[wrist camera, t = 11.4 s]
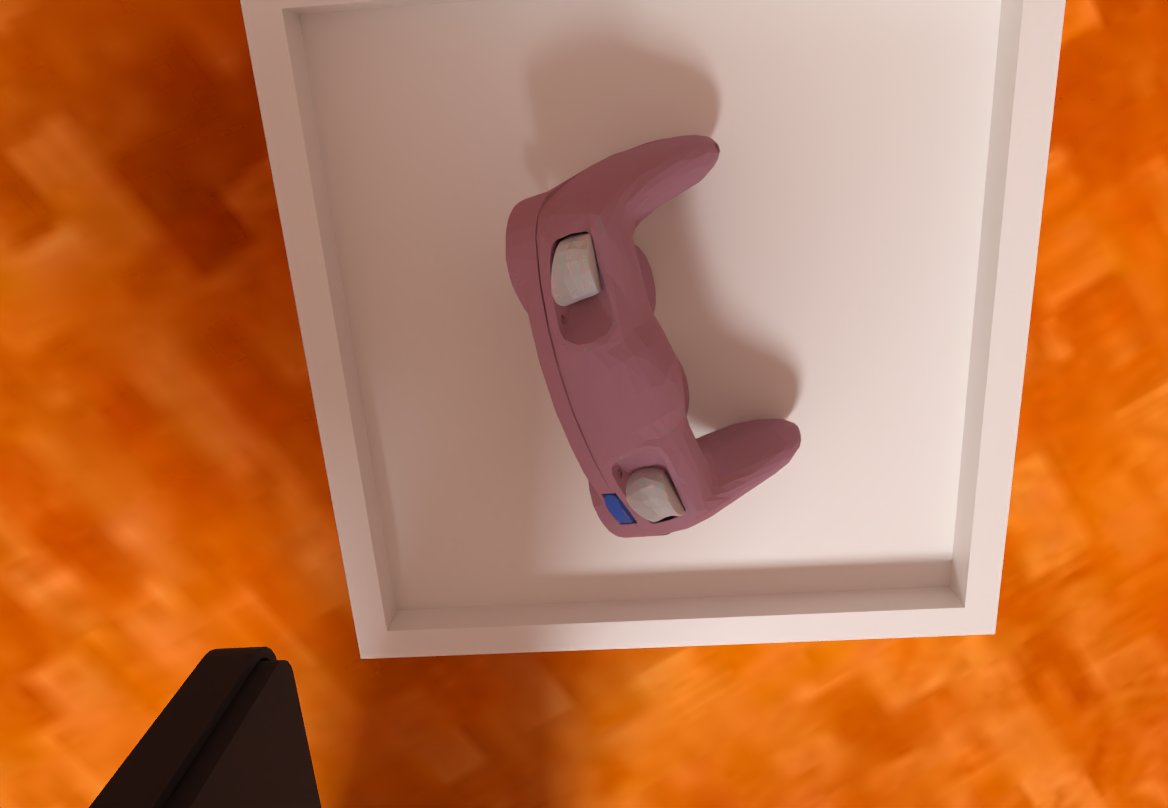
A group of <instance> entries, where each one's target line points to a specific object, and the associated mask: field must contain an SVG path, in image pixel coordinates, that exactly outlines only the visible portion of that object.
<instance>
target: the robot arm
mask: <svg viewBox="0 0 1168 808" xmlns="http://www.w3.org/2000/svg"><path fill="white" fill-rule="evenodd" d="M89 808H321V804H320V799H319V795H318V790H317V785H316V780H315V775H314V770H313V766H312V761H311V756H310V751H309V746H308V741H307V737H306V732H305V727H304V722H303V717H302V713H301V708H300V703H299V698H298V693H297V688H296V684H295V679H294V674H293V670H292V667H291V665H290V664H289V662H288V661H285V660H277V659H276V656H275V654H274V653H273V651H272V650H271V649H270V648H268V647H248V648H225V649H214V650H211V651H209V652H208V653H207V654H206V655H205V656H204V657H203V659H202V660H201V661H200V662H199V664H198V665H197V666H196V668H195V669H194V670H193V672H192V673H191V674H190V676H189V677H188V678H187V680H186V681H185V682H184V684H183V685H182V686H181V687H180V689H179V690H178V691H177V693H176V694H175V695H174V697H173V698H172V699H171V701H170V702H169V703H168V705H167V706H166V707H165V708H164V710H163V711H162V712H161V714H160V715H159V716H158V718H157V719H156V720H155V722H154V723H153V724H152V726H151V727H150V728H149V729H148V731H147V732H146V733H145V735H144V736H143V737H142V739H141V740H140V741H139V743H138V744H137V745H136V747H135V748H134V749H133V750H132V752H131V753H130V754H129V756H128V757H127V758H126V760H125V761H124V762H123V764H122V765H121V766H120V768H119V769H118V770H117V771H116V773H115V774H114V775H113V777H112V778H111V779H110V781H109V782H108V783H107V785H106V786H105V787H104V789H103V790H102V791H101V792H100V794H99V795H98V796H97V798H96V799H95V800H94V802H93V803H92V804H91V806H90V807H89Z"/></svg>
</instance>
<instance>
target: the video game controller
mask: <svg viewBox="0 0 1168 808" xmlns="http://www.w3.org/2000/svg"><path fill="white" fill-rule="evenodd" d="M719 153H720V149H719V145H718V144H717V143H716V142H715V141H714V140H713V139H711V138H710V137H707V136H700V135H685V136H677V137H672V138H666V139H661V140H656V141H652V142H648V143H645V144H642V145H640V146H637V147H634V148H632V149H629V150H626V151H623V152H619V153H616V154H613V155H611V156H609V157H607V158H605V159H603V160H601V161H599V162H597V163H595V164H593V165H592V166H590V167H588V168H587V169H585V170H583V171H581V172H580V173H578V174H576V175H575V176H573V177H571V178H569V179H568V180H566V181H564V182H563V183H561V184H559V185H558V186H556V187H554V188H552V189H551V190H549V191H547V192H544V193H541V194H538V195H535V196H532V197H529V198H526V199H524V200H522V201H520V202H519V203H518V204H516V205H515V206H514V208H513V210H512V211H511V213H510V215H509V219H508V222H507V228H506V262H507V267H508V272H509V276H510V280H511V283H512V286H513V288H514V290H515V292H516V294H517V296H518V298H519V300H520V302H521V304H522V305H523V307H524V309H525V311H526V312H527V313H528V316H529V321H530V325H531V329H532V334H533V338H534V342H535V346H536V351H537V355H538V359H539V363H540V366H541V369H542V372H543V375H544V378H545V381H546V384H547V387H548V390H549V393H550V396H551V399H552V402H553V405H554V408H555V411H556V414H557V416H558V418H559V421H560V423H561V425H562V428H563V430H564V432H565V435H566V437H567V439H568V441H569V444H570V446H571V448H572V450H573V452H574V454H575V456H576V458H577V460H578V462H579V464H580V466H581V468H582V470H583V472H584V474H585V475H586V477H587V479H588V482H589V491H590V495H591V499H592V503H593V506H594V508H595V510H596V513H597V515H598V517H599V519H600V520H601V522H602V523H603V524H604V526H605V527H606V528H607V529H608V530H609V532H611V533H612V534H614V535H616V536H617V537H623V538H630V537H646V536H662V535H668V534H670V533H672V532H675V531H680V530H684V529H688V528H690V527H692V526H694V525H696V524H698V523H700V522H702V521H704V520H706V519H708V518H710V517H712V516H713V515H715V514H716V513H718V512H719V511H721V510H722V509H724V508H725V507H727V506H728V505H729V504H731V503H732V502H734V501H735V500H737V499H738V498H740V497H741V496H743V495H744V494H746V493H747V492H749V491H750V490H752V489H753V488H755V487H756V486H758V485H759V484H761V483H762V482H764V481H765V480H767V479H768V478H770V477H771V476H773V475H774V474H776V473H777V472H778V471H779V470H780V469H782V468H783V467H784V466H785V465H787V464H788V463H789V462H790V460H791V459H792V457H793V456H794V454H795V453H796V452H797V450H798V449H799V447H800V443H801V434H800V430H799V428H798V426H797V425H796V424H795V423H793V422H790V421H787V420H785V419H756V420H751V421H746V422H741V423H736V424H733V425H730V426H727V427H725V428H722V429H719V430H716V431H714V432H711V433H708V434H706V435H703V436H701V437H699V438H695V436H694V434H693V432H692V430H691V428H690V425H689V422H688V419H687V412H688V408H689V389H688V382H687V378H686V375H685V372H684V369H683V367H682V365H681V363H680V361H679V360H678V358H677V357H676V355H675V353H674V351H673V349H672V347H671V345H670V343H669V341H668V339H667V337H666V335H665V332H664V331H663V329H662V327H661V326H660V324H659V322H658V320H657V319H656V317H655V315H654V311H655V306H656V291H655V283H654V278H653V274H652V270H651V267H650V265H649V262H648V260H647V257H646V256H645V254H644V253H643V252H642V250H641V249H640V248H639V247H638V246H636V245H635V244H634V241H633V235H634V232H635V228H636V227H637V226H638V225H639V223H640V222H641V221H643V220H644V219H645V218H646V217H647V216H648V215H650V214H651V213H652V212H653V211H654V210H656V209H657V208H658V207H659V206H661V205H662V204H664V203H666V202H667V201H669V200H671V199H672V198H674V197H676V196H677V195H679V194H681V193H682V192H684V191H686V190H687V189H689V188H690V187H692V186H694V185H695V184H697V183H699V182H700V181H701V180H702V179H703V178H704V177H705V176H706V175H707V174H708V173H709V171H710V170H711V169H712V168H713V167H714V165H715V164H716V162H717V160H718V157H719Z"/></svg>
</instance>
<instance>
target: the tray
mask: <svg viewBox="0 0 1168 808" xmlns="http://www.w3.org/2000/svg"><path fill="white" fill-rule="evenodd" d="M240 2H241V8H242V13H243V19H244V24H245V30H246V35H247V41H248V46H249V51H250V57H251V62H252V68H253V73H254V79H255V84H256V90H257V95H258V101H259V106H260V111H261V117H262V122H263V128H264V133H265V139H266V144H267V150H268V155H269V161H270V166H271V171H272V177H273V182H274V188H275V193H276V199H277V204H278V210H279V215H280V221H281V226H282V231H283V237H284V242H285V248H286V253H287V259H288V264H289V270H290V275H291V281H292V286H293V291H294V297H295V302H296V308H297V313H298V319H299V324H300V330H301V335H302V340H303V346H304V351H305V357H306V362H307V368H308V373H309V379H310V384H311V390H312V395H313V400H314V406H315V411H316V417H317V422H318V428H319V433H320V439H321V444H322V450H323V455H324V460H325V466H326V471H327V477H328V482H329V488H330V493H331V499H332V504H333V510H334V515H335V520H336V526H337V531H338V537H339V542H340V548H341V553H342V559H343V564H344V570H345V575H346V580H347V586H348V591H349V597H350V602H351V608H352V613H353V619H354V624H355V630H356V635H357V640H358V646H359V651H360V657H361V659H374V658H399V657H425V656H450V655H475V654H501V653H526V652H551V651H577V650H602V649H627V648H653V647H678V646H703V645H728V644H754V643H779V642H804V641H830V640H855V639H880V638H906V637H931V636H956V635H982V634H995V629H996V620H997V611H998V602H999V593H1000V584H1001V575H1002V567H1003V558H1004V549H1005V540H1006V531H1007V522H1008V513H1009V504H1010V495H1011V486H1012V477H1013V468H1014V459H1015V450H1016V441H1017V432H1018V423H1019V414H1020V405H1021V396H1022V387H1023V378H1024V369H1025V361H1026V352H1027V343H1028V334H1029V325H1030V316H1031V307H1032V298H1033V289H1034V280H1035V271H1036V262H1037V253H1038V244H1039V235H1040V226H1041V217H1042V208H1043V199H1044V190H1045V181H1046V172H1047V163H1048V154H1049V146H1050V137H1051V128H1052V119H1053V110H1054V101H1055V92H1056V83H1057V74H1058V65H1059V56H1060V47H1061V38H1062V29H1063V20H1064V11H1065V2H1066V0H240ZM685 135H700V136H707V137H710V138H711V139H713V140H714V141H715V142H716V143H717V144H718V145H719V149H720V153H719V157H718V160H717V162H716V164H715V165H714V167H713V168H712V169H711V170H710V171H709V173H708V174H707V175H706V176H705V177H704V178H703V179H702V180H701V181H700V182H699V183H697V184H695V185H694V186H692V187H690V188H689V189H687V190H686V191H684V192H682V193H681V194H679V195H677V196H676V197H674V198H672V199H671V200H669V201H667V202H666V203H664V204H662V205H661V206H659V207H658V208H657V209H656V210H654V211H653V212H652V213H651V214H650V215H648V216H647V217H646V218H645V219H644V220H643V221H641V222H640V223H639V225H638V226H637V227H636V228H635V232H634V235H633V241H634V244H635V245H636V246H638V247H639V248H640V249H641V250H642V252H643V253H644V254H645V256H646V257H647V260H648V262H649V265H650V267H651V270H652V274H653V278H654V283H655V291H656V306H655V311H654V315H655V317H656V319H657V320H658V322H659V324H660V326H661V327H662V329H663V331H664V332H665V335H666V337H667V339H668V341H669V343H670V345H671V347H672V349H673V351H674V353H675V355H676V357H677V358H678V360H679V361H680V363H681V365H682V367H683V369H684V372H685V375H686V378H687V382H688V389H689V408H688V412H687V419H688V422H689V425H690V428H691V430H692V432H693V434H694V436H695V438H699V437H701V436H703V435H706V434H708V433H711V432H714V431H716V430H719V429H722V428H725V427H727V426H730V425H733V424H736V423H741V422H746V421H751V420H756V419H785V420H787V421H790V422H793V423H795V424H796V425H797V426H798V428H799V430H800V434H801V443H800V447H799V449H798V450H797V452H796V453H795V454H794V456H793V457H792V459H791V460H790V462H789V463H788V464H787V465H785V466H784V467H783V468H782V469H780V470H779V471H778V472H777V473H776V474H774V475H773V476H771V477H770V478H768V479H767V480H765V481H764V482H762V483H761V484H759V485H758V486H756V487H755V488H753V489H752V490H750V491H749V492H747V493H746V494H744V495H743V496H741V497H740V498H738V499H737V500H735V501H734V502H732V503H731V504H729V505H728V506H727V507H725V508H724V509H722V510H721V511H719V512H718V513H716V514H715V515H713V516H712V517H710V518H708V519H706V520H704V521H702V522H700V523H698V524H696V525H694V526H692V527H690V528H688V529H684V530H680V531H675V532H672V533H670V534H668V535H662V536H646V537H630V538H623V537H617V536H616V535H614V534H612V533H611V532H609V530H608V529H607V528H606V527H605V526H604V524H603V523H602V522H601V520H600V519H599V517H598V515H597V513H596V510H595V508H594V506H593V503H592V499H591V495H590V491H589V482H588V479H587V477H586V475H585V474H584V472H583V470H582V468H581V466H580V464H579V462H578V460H577V458H576V456H575V454H574V452H573V450H572V448H571V446H570V444H569V441H568V439H567V437H566V435H565V432H564V430H563V428H562V425H561V423H560V421H559V418H558V416H557V414H556V411H555V408H554V405H553V402H552V399H551V396H550V393H549V390H548V387H547V384H546V381H545V378H544V375H543V372H542V369H541V366H540V363H539V359H538V355H537V351H536V346H535V342H534V338H533V334H532V329H531V325H530V321H529V316H528V313H527V312H526V311H525V309H524V307H523V305H522V304H521V302H520V300H519V298H518V296H517V294H516V292H515V290H514V288H513V286H512V283H511V280H510V276H509V272H508V267H507V262H506V228H507V222H508V219H509V215H510V213H511V211H512V210H513V208H514V206H515V205H516V204H518V203H519V202H520V201H522V200H524V199H526V198H529V197H532V196H535V195H538V194H541V193H544V192H547V191H549V190H551V189H552V188H554V187H556V186H558V185H559V184H561V183H563V182H564V181H566V180H568V179H569V178H571V177H573V176H575V175H576V174H578V173H580V172H581V171H583V170H585V169H587V168H588V167H590V166H592V165H593V164H595V163H597V162H599V161H601V160H603V159H605V158H607V157H609V156H611V155H613V154H616V153H619V152H623V151H626V150H629V149H632V148H634V147H637V146H640V145H642V144H645V143H648V142H652V141H656V140H661V139H666V138H672V137H677V136H685Z"/></svg>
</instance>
